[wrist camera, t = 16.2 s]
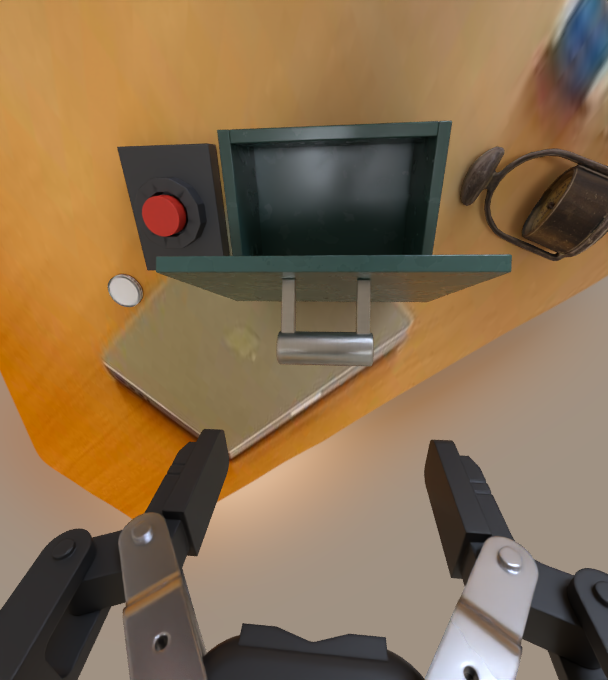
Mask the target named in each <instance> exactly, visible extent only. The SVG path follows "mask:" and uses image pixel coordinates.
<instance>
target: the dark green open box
mask: <svg viewBox="0 0 608 680" xmlns="http://www.w3.org/2000/svg"><path fill="white" fill-rule="evenodd" d="M451 126H452V121H439V122H438V121H428V122H404V123H379V124H355V125H330V126H306V127H281V128H257V129H232V130H217V133H218V141H219V149H220V157H221V165H222V173H223V181H224V189H225V197H226V205H227V213H228V221H229V230H230V238H231V246H232V254H233V256H327V255H432V253H433V246H434V239H435V233H436V226H437V219H438V213H439V206H440V199H441V193H442V186H443V179H444V173H445V166H446V159H447V153H448V146H449V139H450V133H451Z"/></svg>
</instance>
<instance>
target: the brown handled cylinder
mask: <svg viewBox="0 0 608 680" xmlns="http://www.w3.org/2000/svg"><path fill="white" fill-rule="evenodd" d="M503 155H504V148H502V147H495V148H492V149H490V150H488V151H487V152H485V153H484V154H483V155H482V156H480V157H479V158H478V159H477V160H476V161H475V162H474V163H473V164H472V165H471V167H470V168H469V170H468V172H467V174H466V176H465V178H464V181H463V184H462V189H461V201H462V203H463V204H464V205H466V206H468V205H471V204H472V203H474V201H475V200H476V198H477V197H478V196H479V194H480V193H481V192H482V190H483V189H487V190H488V191H487V195H486V198H485V206H484V211H485V216H486V220H487V223H488V225H489V226H490V228H491V229H492V230H493V232H494V233H495V234H496V235H497V236H499V237H501V238H502V239H504V240H506V241H508V242H510V243H512V244H515V245H517V246H519V247H521V248H524V249H526V250H528V251H530V252H533V253H535V254H537V255H540V256H542V257H544V258H547V259H549V260H552V261H558V260H561V259H562V258H564V257H572V256H576V255H578V254H580V253H581V252H583V251H585V250H586V249H588V248H589V247H590V246H592V245H593V244H595V243H596V242H597V241H598V240H599V239H601V238H602V237H603V236H604V235H605V234H606V233H607V232H608V166H605V165H603V164H600V163H598V162H595V161H593V160H590V159H587V158H585V157H582V156H580V155H577V154H575V153H572V152H569V151H565V150H561V149H546V150H541V151H536V152H531V153H529V154H526V155H524V156H522V157H520V158H518V159H516V160H515V161H513V162H512V163H510V164H509V165H507V166H506V167H505V168H504V169H503V170H502V171H500V172H498V173H497V172H496V171H495V169H496V168H497V166H498V164H499V162H500V160H501V158H502V157H503ZM543 156H559V157H562V158H565V159H568V160H570V161H573V162H575V163H577V164H578V165H577V166H574V167H572V168H570V169H568V170H567V171H565V172H564V173H563V174H562V175H560V176H559V177H558V178H557V179H556V180H555V181H554V182H553V183H552V184H551V185H550V186H549V187H548V189H547V190H546V191H545V192H544V194H543V195H542V197H541V198H540V200H539V201H538V202H537V204H536V205H535V207H534V208H533V210H532V211H531V213H530V215H529V216H528V218H527V220H526V222H525V224H524V226H523V229H522V236H523V237H524V238H526V239H528V240H531V241H533V242H535V243H537V244H540V245H542V246H544V247H546V248H548V249H551V250H553V251H555V252H557V253H556V254H551V253H549V252H546V251H544V250H542V249H540V248H538V247H536V246H534V245H531V244H529V243H527V242H524V241H522V240H520V239H517V238H515V237H512V236H510V235H507V234H505V233H503V232H502V231H500V230H499V229H498V228H497V226H496V225H495V223H494V221H493V219H492V217H491V211H490V203H491V198H492V195H493V192H494V190H495V189H496V187H497V186H498V184H499V182H500V181H501V180H502V179H503V178H504V177H505V175H506V174H507V173H509V172H510V171H511V170H512V169H514V168H515V167H517V166H518V165H520V164H522V163H524V162H526V161H528V160H530V159H533V158H538V157H543Z"/></svg>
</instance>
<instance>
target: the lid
mask: <svg viewBox="0 0 608 680" xmlns="http://www.w3.org/2000/svg"><path fill="white" fill-rule="evenodd" d="M511 261H512V255H510V254H506V255H327V256H157V257H156V272H157V273H160V274H163V275H165V276H168V277H171V278H174V279H177V280H179V281H182V282H185V283H188V284H191V285H194V286H196V287H199V288H202V289H205V290H208V291H210V292H213V293H216V294H219V295H222V296H224V297H227V298H230V299H233V300H236V301H282V319H281V331H280V332H279V334H278V338H277V360H278V363H279V364H295V365H336V366H372V363H373V354H374V341H373V335H372V333H370V302H429V301H431V300H434V299H437V298H440V297H443V296H445V295H448V294H451V293H454V292H456V291H459V290H462V289H465V288H467V287H470V286H473V285H476V284H478V283H481V282H484V281H487V280H490V279H492V278H495V277H498V276H501V275H503V274H506V273H509V272H511ZM296 301H333V302H356V332H300V331H296Z"/></svg>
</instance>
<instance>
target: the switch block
mask: <svg viewBox="0 0 608 680" xmlns="http://www.w3.org/2000/svg"><path fill="white" fill-rule="evenodd" d="M117 148H118V152H119V156H120V161H121V165H122V169H123V173H124V177H125V181H126V185H127V189H128V193H129V197H130V201H131V205H132V209H133V213H134V217H135V221H136V225H137V229H138V233H139V238H140V242H141V246H142V250H143V254H144V258H145V262H146V266H147V270H156V257H157V256H230V253H229V246H228V238H227V230H226V222H225V214H224V207H223V199H222V191H221V183H220V175H219V168H218V160H217V152H216V145H213V144H182V145H155V146H128V147H117ZM160 195H170V196H172V197H174V198H176V199H177V200H178V201H179V202H180V203H181V204H182V205H183V207H184V209H185V212H186V224H185V226H184V228H183V229H182V230H181V231H180V232H178V233H175V234H173V235H170V236H165V237H164V236H159V235H156V234H155V233H153V232H152V231H151V230H150V229H149V228H148V227H147V226H146V224H145V222H144V220H143V216H142V208H143V205H144V203H145V202H146V200H147V199H149V198H151V197H154V196H160Z"/></svg>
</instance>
